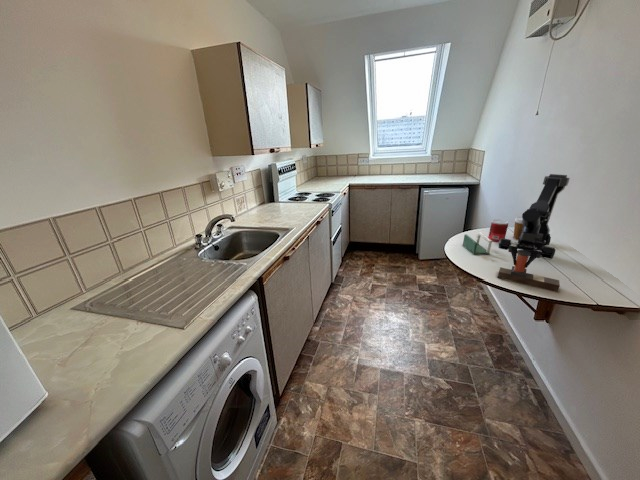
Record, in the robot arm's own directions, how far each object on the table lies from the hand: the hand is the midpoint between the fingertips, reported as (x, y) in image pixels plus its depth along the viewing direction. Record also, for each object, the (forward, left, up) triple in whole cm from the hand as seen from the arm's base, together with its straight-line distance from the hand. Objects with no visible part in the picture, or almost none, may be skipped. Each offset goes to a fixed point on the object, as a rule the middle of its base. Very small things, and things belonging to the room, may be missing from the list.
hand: (520, 266), depth 110 cm
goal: (+1, -32, -7) cm, 33 cm away
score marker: (-1, -1, -4) cm, 4 cm away
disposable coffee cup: (-31, -46, -7) cm, 56 cm away
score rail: (-4, +1, -7) cm, 8 cm away
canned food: (-17, -45, -7) cm, 49 cm away
